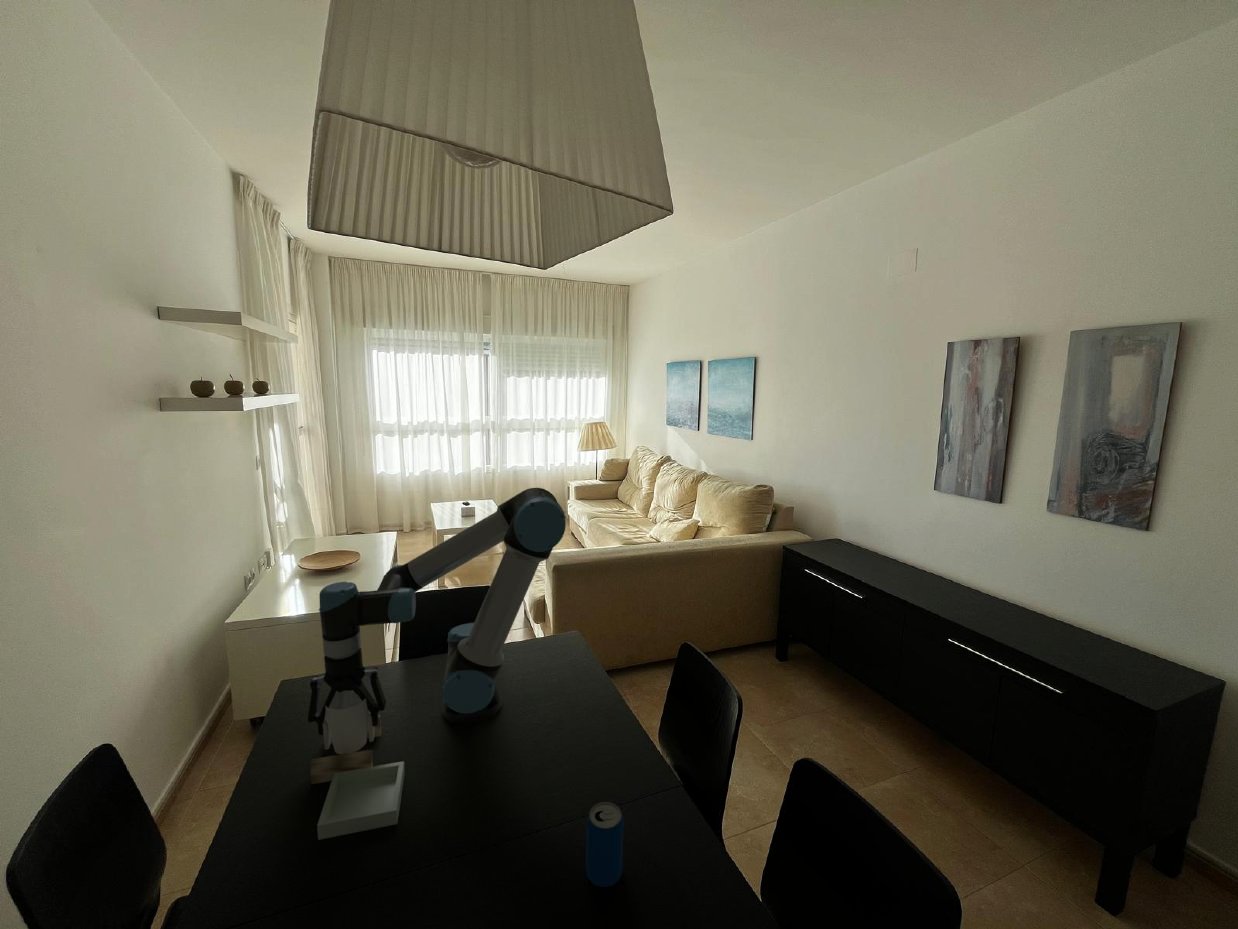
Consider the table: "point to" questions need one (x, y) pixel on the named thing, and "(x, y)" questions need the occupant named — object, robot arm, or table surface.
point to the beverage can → (604, 844)
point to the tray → (362, 800)
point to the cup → (347, 722)
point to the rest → (342, 761)
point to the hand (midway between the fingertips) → (350, 741)
